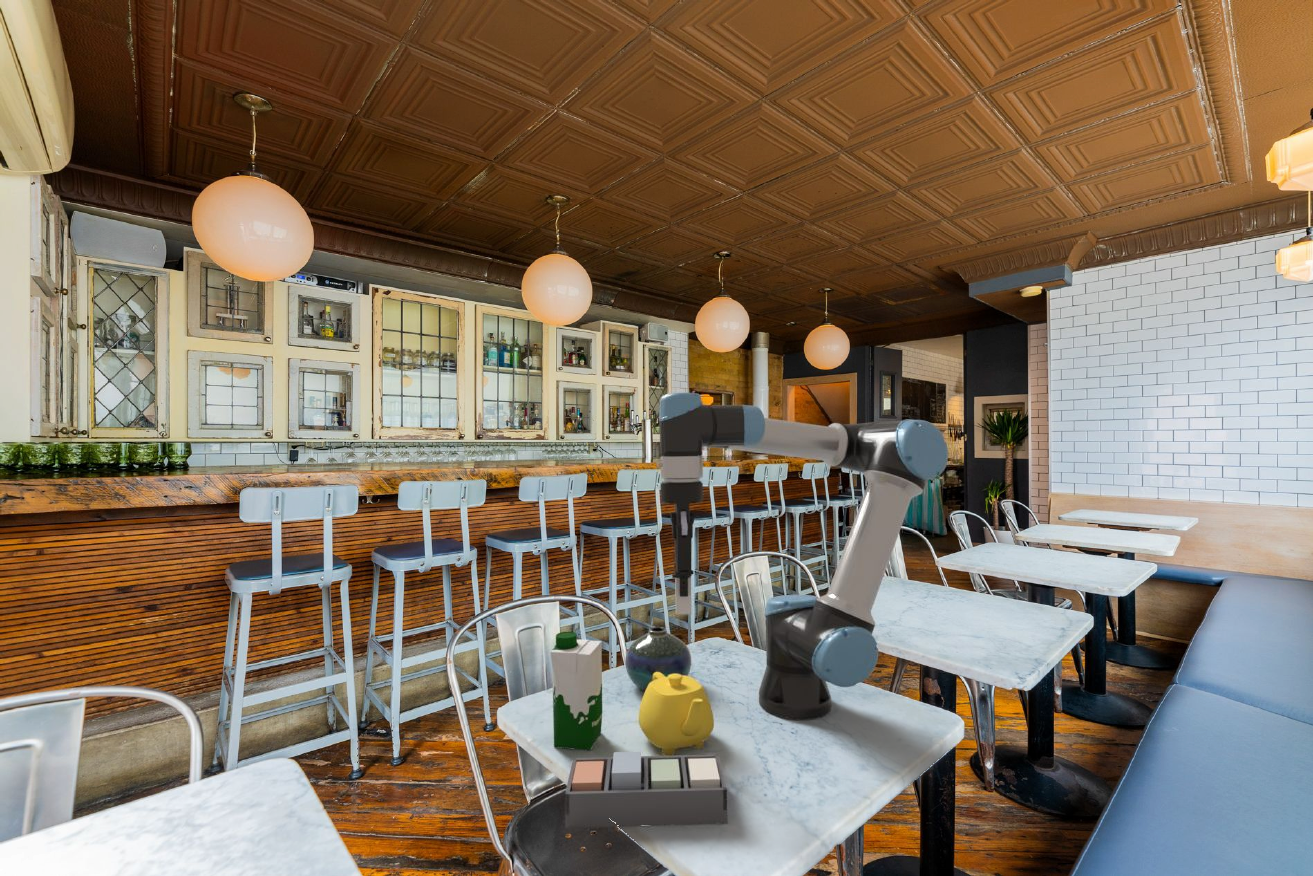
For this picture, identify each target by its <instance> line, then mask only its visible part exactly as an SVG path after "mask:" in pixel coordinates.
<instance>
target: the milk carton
mask: <svg viewBox="0 0 1313 876" xmlns="http://www.w3.org/2000/svg"><path fill="white" fill-rule="evenodd" d="M602 643H603V642H602V640H590V639H578V635H577V633H576V632H574V631H562V632H558V633H557V634H556V635H555V644H554V648H552V650H551V651H550V652H549V654H550V659H551V660H550V661H551V667H552V709H553V713H552V715H553V716H552V718H553V747H554V748H557V747H562V748H561V749H568V748H574V749H573V750H579V751H591V749H592V748H593V746H594V745H595V744H596V741H597V740H598V738H599V736H600V735H601V732H602V726H603V725H602V722H603V666H602V665H603V661H602V657H603V656H602V653H603V651H602V649H603V648H602ZM580 749H581V750H580Z"/></svg>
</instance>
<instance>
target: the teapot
mask: <svg viewBox="0 0 1313 876" xmlns="http://www.w3.org/2000/svg"><path fill="white" fill-rule="evenodd" d="M638 724H639V728H640V729H641V731H642V733H643V734H644V736H645V737H646V739H647V740H648V741H649V742H650V743H651V744H652V745H654V746H655V747H657V748H659V749H662V750H661V754H662V756H672V755H675V754H676V749H682V748H688V747H692V748H695V749H702V748H704V747H705V743H704V741H706V740H707V739H708V738H709V737H710V735H711V734H712V732H713V730H714V726H715V719H714V714H713V710H712V706H711V703H710V699H709V698H708V696H707V693H706V691H705V689H704V687H703V685H702V684H700V682H698V681H697V680H696V679H695V678H693V677H691V676H689V675H688V676H685V675H680V674H670V675H668V677H665V676H664V675H663V674H662V673H660V672H655V673H654V674H653V681H652V682H650V683H649V685H648V687H647V689H646V690H644V693H643V696H642V698H641V701H640V705H639V710H638Z"/></svg>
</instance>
